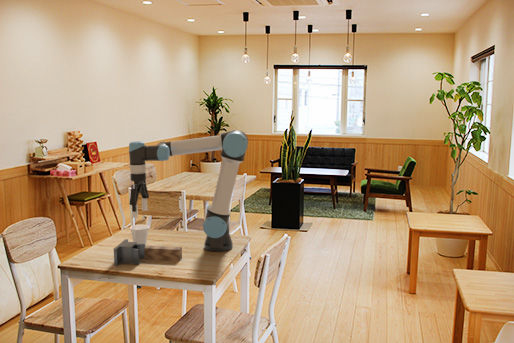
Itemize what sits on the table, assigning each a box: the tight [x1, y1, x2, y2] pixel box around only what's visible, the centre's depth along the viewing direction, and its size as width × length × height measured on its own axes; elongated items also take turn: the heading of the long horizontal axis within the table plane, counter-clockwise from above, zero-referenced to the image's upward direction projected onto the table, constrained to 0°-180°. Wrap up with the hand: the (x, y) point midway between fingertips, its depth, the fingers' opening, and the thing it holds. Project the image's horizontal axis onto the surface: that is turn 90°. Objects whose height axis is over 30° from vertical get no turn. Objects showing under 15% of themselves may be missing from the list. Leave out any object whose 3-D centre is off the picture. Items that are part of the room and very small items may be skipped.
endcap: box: [113, 238, 146, 267], centre depth 250 cm, size 12×15×8 cm
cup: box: [129, 224, 150, 247], centre depth 272 cm, size 10×10×11 cm
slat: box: [144, 245, 183, 262], centre depth 253 cm, size 18×4×6 cm, turn 82°
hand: (140, 214), depth 256 cm, fingers open, 13 cm apart
